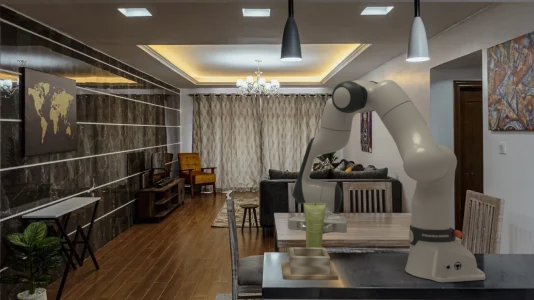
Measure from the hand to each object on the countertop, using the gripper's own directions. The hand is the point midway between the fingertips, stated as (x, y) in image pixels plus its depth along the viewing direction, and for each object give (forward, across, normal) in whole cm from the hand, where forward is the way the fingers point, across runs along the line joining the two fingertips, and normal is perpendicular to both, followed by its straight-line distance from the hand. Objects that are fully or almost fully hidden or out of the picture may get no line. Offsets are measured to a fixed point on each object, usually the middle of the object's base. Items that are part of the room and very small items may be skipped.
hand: (314, 229), depth 141 cm
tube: (-1, 0, +11) cm, 11 cm away
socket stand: (+10, 0, +11) cm, 15 cm away
